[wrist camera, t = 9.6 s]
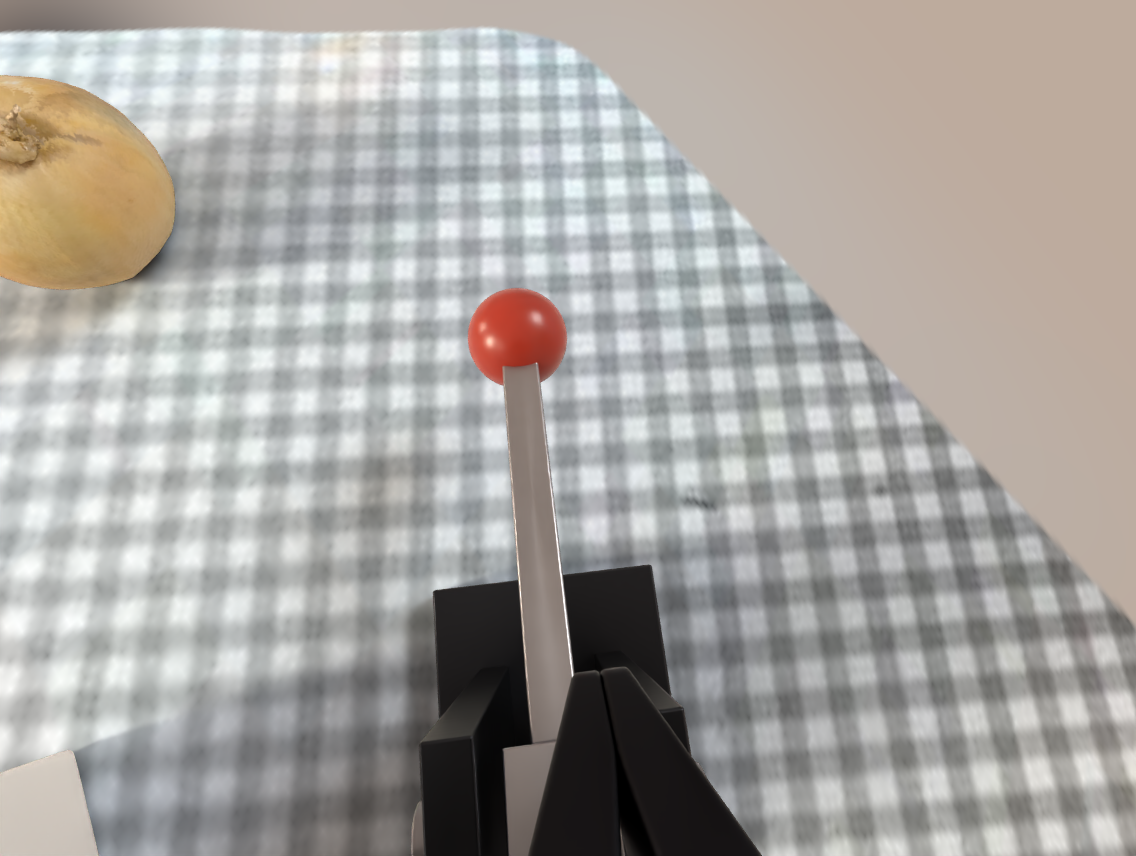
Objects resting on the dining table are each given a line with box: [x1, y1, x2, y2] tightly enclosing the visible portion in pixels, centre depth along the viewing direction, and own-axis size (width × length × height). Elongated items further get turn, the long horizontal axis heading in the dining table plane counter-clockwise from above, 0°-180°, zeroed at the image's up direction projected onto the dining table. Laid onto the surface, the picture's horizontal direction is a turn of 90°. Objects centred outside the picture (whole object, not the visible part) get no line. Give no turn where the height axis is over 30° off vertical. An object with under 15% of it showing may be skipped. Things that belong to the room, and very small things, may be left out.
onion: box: [0, 75, 175, 290], centre depth 22 cm, size 8×8×7 cm
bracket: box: [411, 565, 705, 856], centre depth 15 cm, size 10×8×11 cm
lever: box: [468, 288, 627, 856], centre depth 15 cm, size 16×3×3 cm, turn 7°
